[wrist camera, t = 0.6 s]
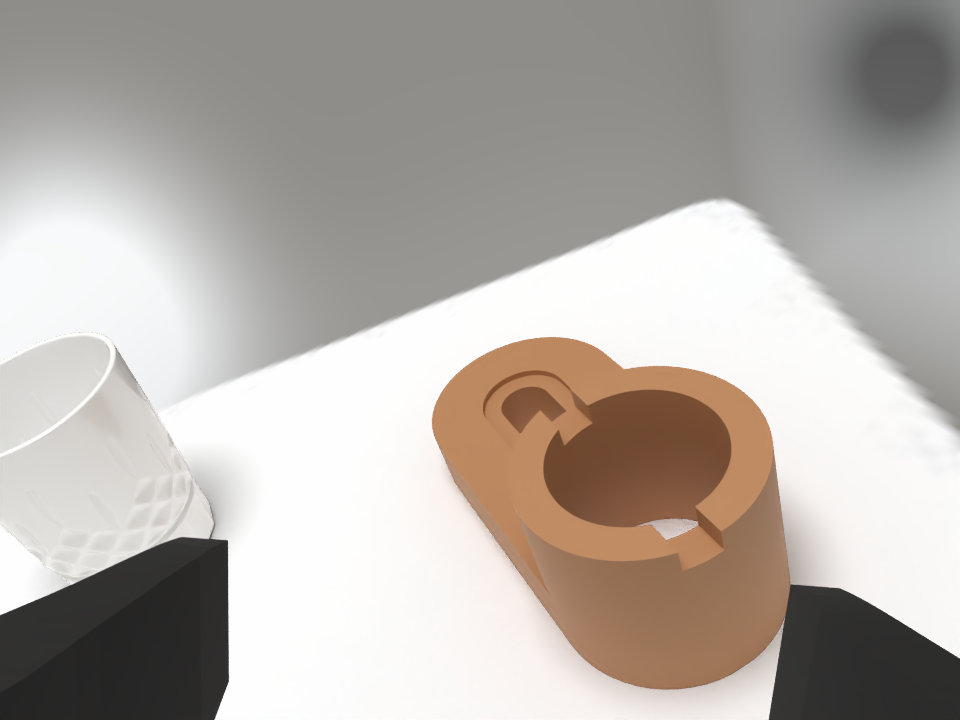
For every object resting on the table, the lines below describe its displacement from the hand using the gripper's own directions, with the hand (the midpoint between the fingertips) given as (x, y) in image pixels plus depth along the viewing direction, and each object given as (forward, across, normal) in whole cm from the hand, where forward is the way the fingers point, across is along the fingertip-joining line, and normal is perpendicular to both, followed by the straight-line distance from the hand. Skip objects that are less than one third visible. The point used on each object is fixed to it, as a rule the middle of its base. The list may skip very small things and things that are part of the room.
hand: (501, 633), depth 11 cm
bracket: (+23, -4, +8) cm, 25 cm away
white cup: (+27, +16, +14) cm, 34 cm away
